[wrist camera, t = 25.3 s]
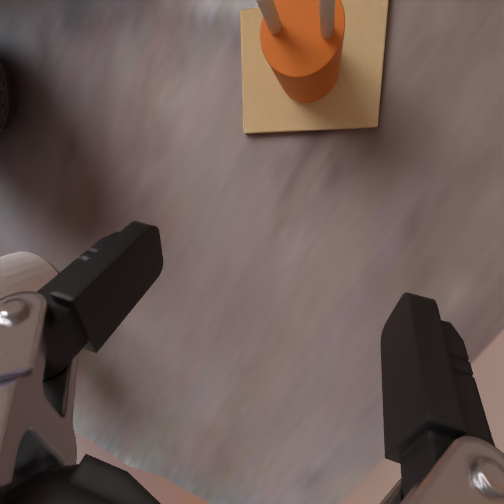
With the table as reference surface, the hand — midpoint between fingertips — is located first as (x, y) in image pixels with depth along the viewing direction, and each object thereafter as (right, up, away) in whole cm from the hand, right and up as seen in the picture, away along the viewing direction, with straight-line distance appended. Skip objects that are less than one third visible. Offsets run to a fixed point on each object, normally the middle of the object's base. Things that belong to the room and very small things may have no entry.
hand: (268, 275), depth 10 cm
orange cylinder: (+4, +16, +16) cm, 23 cm away
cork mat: (+5, +17, +16) cm, 24 cm away
